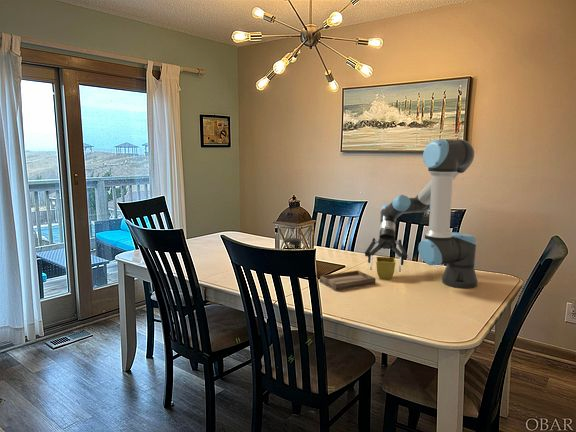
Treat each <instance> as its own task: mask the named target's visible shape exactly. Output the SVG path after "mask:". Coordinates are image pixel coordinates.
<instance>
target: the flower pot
mask: <svg viewBox="0 0 576 432" xmlns="http://www.w3.org/2000/svg"><path fill="white" fill-rule="evenodd" d="M375 259H376V260H375V261H376V274H377V277H378V278H379V279H382V280H391V279H392V278H393V275H394V274H395V267H396V258H395V257H390V256H376V258H375Z"/></svg>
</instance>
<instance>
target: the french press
mask: <svg viewBox="0 0 576 432" xmlns="http://www.w3.org/2000/svg"><path fill="white" fill-rule="evenodd" d="M289 229H291V230H292V229H294V230H296V228H289ZM291 232H292V231H291ZM291 234H292V236H291V237H292V238H289V237H284V238H283V241H284V243H285V244H286V243H289V244H290V245H292V246H291V247H292V248H286V247H284V248H283V250H284V249H289V250H292V249H293V250H295V249H294V248H293V247H294V246H299V245H301V243H302V240H303V238H301V239H298V238H299V237H296V238H293V237H294V231H293V232H292V233H291ZM302 248H303V247H302ZM302 248H297V249H302Z"/></svg>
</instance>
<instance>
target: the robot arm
mask: <svg viewBox="0 0 576 432" xmlns="http://www.w3.org/2000/svg"><path fill="white" fill-rule="evenodd" d="M474 159H475V150H474V148H473V146H472V144H471V143H470V142H468V141H467V140H464V139H443V138H442V139H434V140H432V141H430V142H429V143H428V144H427V145H426V146H425V148H424V150H423V153H422V160H423V163H424V165H425V167H427V168H428V171H427V172H428V173H429V174H430V175H431V179H430V180H429V182H428V183H427V184H426V185H425V186H424V187H423V188H422V190H421V191H420V192H419V193H418V194H417V195H416V196H415V197H408V196H407V195H405V194H399V195H398V196H396V197H395V198H394V199H393V200H392V201H391V202H390V203H386V204H383V205H382V206H381V211H380V220H379V221H380V222H379V225H380V226H379V234H378V236H379V238H378V239H376V238H375V237H373V238H372V241H371V242H370V244H369V246H368V247H367V248H366V250H365V251H364V256H365V257H367V259H368V260H367V263H368V264H369V270H370V271H372V269H373V258H374V257H373V256H375V254H376V253H378V251H380V250H382V249H383V250H386V249H387V250H392V251H393V252H394V253H395V254H396V255H397V256H398V258H399V260H398V261H399V263H398V267H399V268H398V272H399V273H401V271H402V269H401V268H402V266H404V263H405V262H404V260H405V259H406V260H407V259H408V257H409V256H408V252H407V250H405V247H404V245H403V244H402V239H398V240H396V221H397V219H399V217H400V216H401V215H403V214H412V213H413V214H414V213H425V212H429V219H428V220H429V221H428V230H427V231H426V232H424V239H422V240H421V241H420V242H419V243H418V246H417V247H418V248H417V249H418V253H419V257H420V259H421V260H422V261H423V262H424V263H425V264H427V265H428V266H441V265H446V267H445V270H444V273H443V275H442V277H441V282H442V284H444V285H445V286H449V287H452V288H457V287H458V289H471V288H470V287H473V288H475V286H476V287H478V281H479V280H478V277H477V273H476V270H475V262H476V251H477V238H476V237H475V236H474V235H472V234H469V233H463V232H455V231H454V232H453V231H452V232H451V231H450V230H451V228H450V227H451V215H452V214H451V213H452V212H451V211H452V199H453V198H452V196H453V181H454V180H455V178H457V177H458V176H459V175H460V174H464V173H465V172H466V171H467V170H468V169H469V167H471V165H472V163H473V162H474ZM375 245H377V246H375ZM396 246H398V247H399V249H400V250H399V249H398V248H397V247H396ZM374 247H375V248H374Z"/></svg>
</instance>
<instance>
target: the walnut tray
mask: <svg viewBox="0 0 576 432" xmlns="http://www.w3.org/2000/svg"><path fill="white" fill-rule="evenodd" d="M319 283H320V284H322V285H324V286H325V287H327V288H329V289H331V290H332V291H334V292H338V291H339V292H340V291H344V290H349V289H350V290H351V289H357V288H363V287H368V286H373V285H375V286H376V277H374V276H372V275H369V274H367V273H365V272H363V271H361V270H357V269H356V270H350V271H344V272H338V273H331V274H324V275H319Z"/></svg>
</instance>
